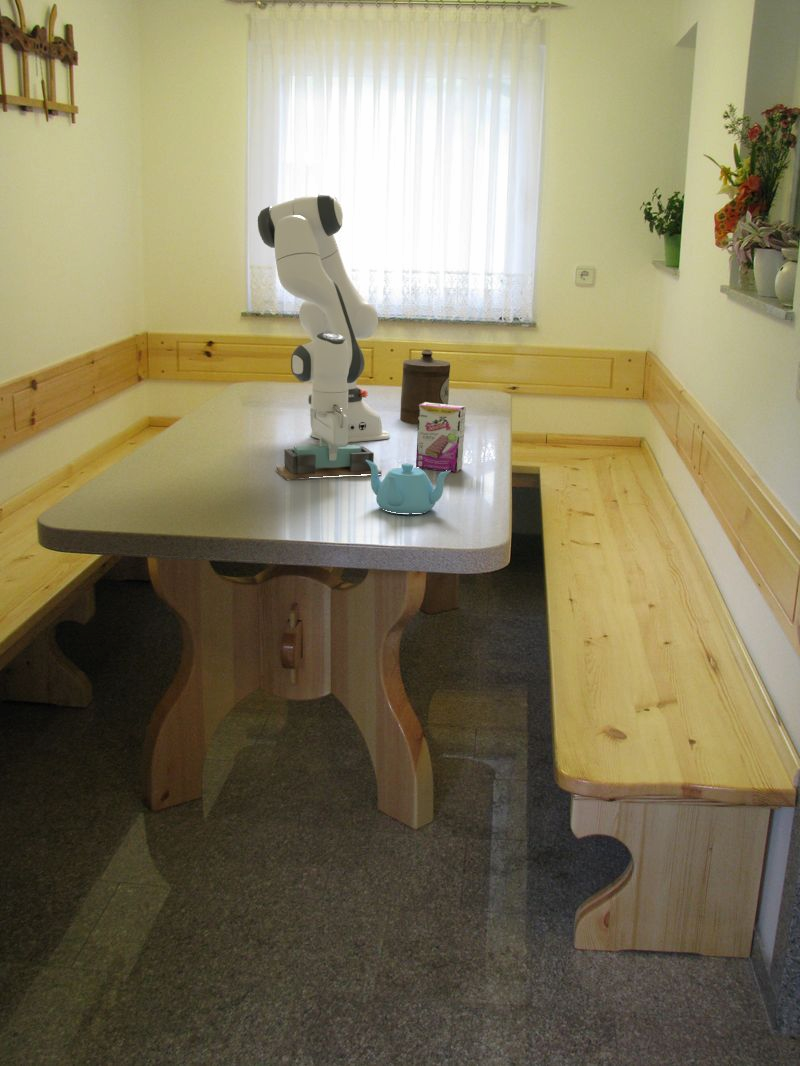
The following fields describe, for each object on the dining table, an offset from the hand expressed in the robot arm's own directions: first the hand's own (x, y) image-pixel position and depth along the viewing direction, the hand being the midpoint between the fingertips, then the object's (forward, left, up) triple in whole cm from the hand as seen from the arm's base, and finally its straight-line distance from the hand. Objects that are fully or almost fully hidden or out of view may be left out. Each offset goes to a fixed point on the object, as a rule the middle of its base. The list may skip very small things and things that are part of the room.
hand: (328, 457), depth 271 cm
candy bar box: (-29, +1, -4) cm, 29 cm away
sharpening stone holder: (0, 0, -4) cm, 4 cm away
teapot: (-6, +37, -4) cm, 38 cm away
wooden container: (-50, -63, -4) cm, 80 cm away
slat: (0, 0, -2) cm, 2 cm away
